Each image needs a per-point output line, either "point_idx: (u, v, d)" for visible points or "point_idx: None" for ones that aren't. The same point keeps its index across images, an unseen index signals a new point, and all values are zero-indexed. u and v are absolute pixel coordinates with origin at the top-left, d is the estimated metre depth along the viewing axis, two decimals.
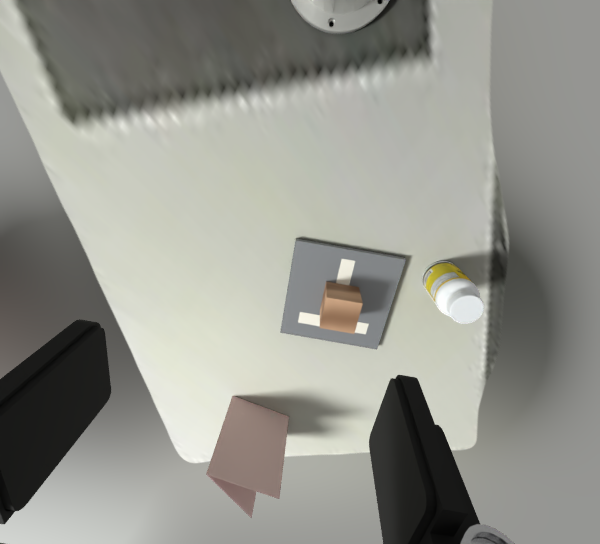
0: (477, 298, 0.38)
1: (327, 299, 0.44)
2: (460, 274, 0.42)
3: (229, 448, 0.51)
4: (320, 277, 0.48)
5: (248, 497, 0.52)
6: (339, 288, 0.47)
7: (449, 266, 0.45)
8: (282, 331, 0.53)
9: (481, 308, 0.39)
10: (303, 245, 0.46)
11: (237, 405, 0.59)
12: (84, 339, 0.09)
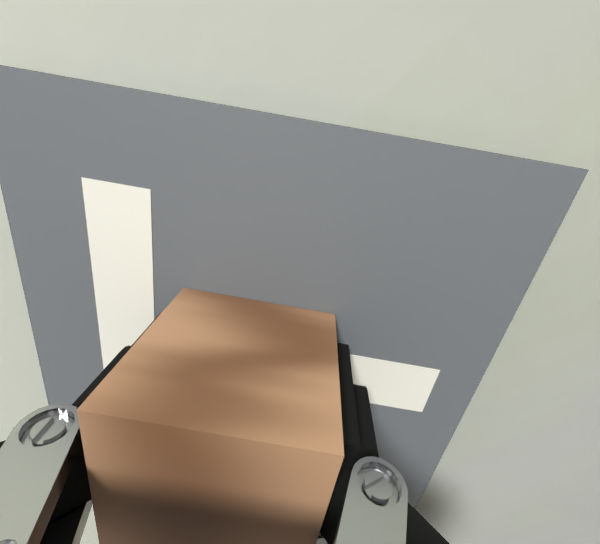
0: None
1: (326, 460, 0.06)
2: None
3: None
4: (355, 290, 0.10)
5: None
6: None
7: None
8: None
9: None
10: (545, 212, 0.09)
11: None
12: None
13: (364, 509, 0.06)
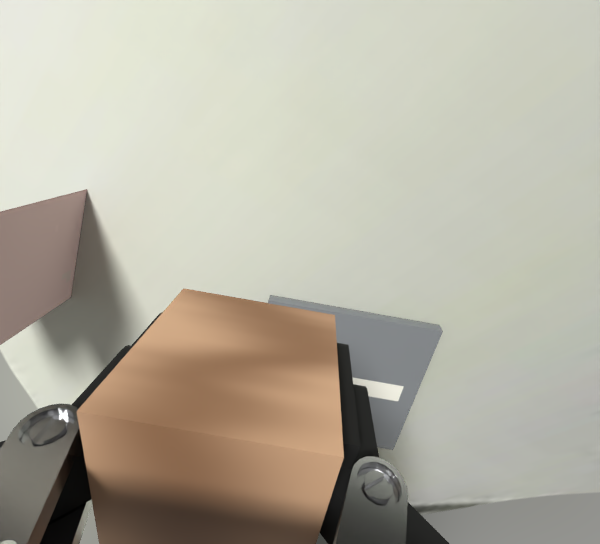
0: None
1: (325, 461, 0.06)
2: None
3: None
4: (375, 361, 0.31)
5: None
6: None
7: None
8: (271, 303, 0.29)
9: None
10: (432, 341, 0.30)
11: (70, 209, 0.26)
12: None
13: (364, 509, 0.06)
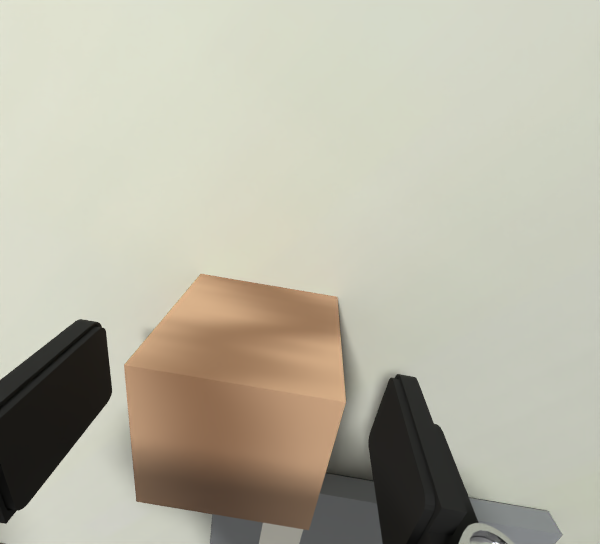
0: None
1: (330, 406, 0.07)
2: None
3: None
4: None
5: None
6: None
7: None
8: None
9: None
10: None
11: None
12: (85, 339, 0.09)
13: None
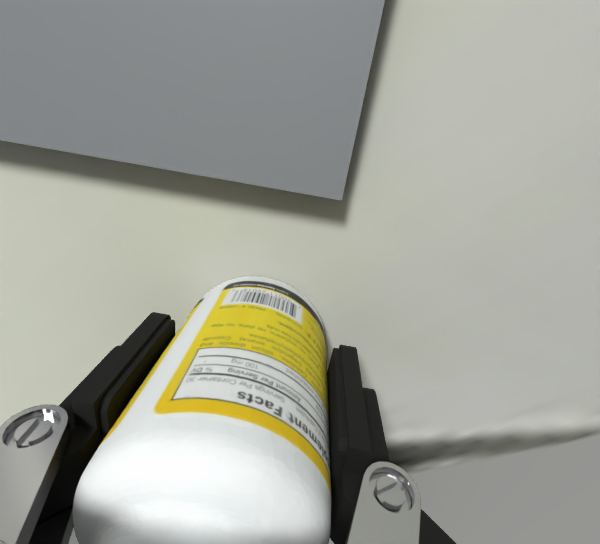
0: None
1: None
2: None
3: None
4: None
5: None
6: None
7: None
8: None
9: None
10: None
11: None
12: (162, 330, 0.10)
13: (376, 514, 0.06)
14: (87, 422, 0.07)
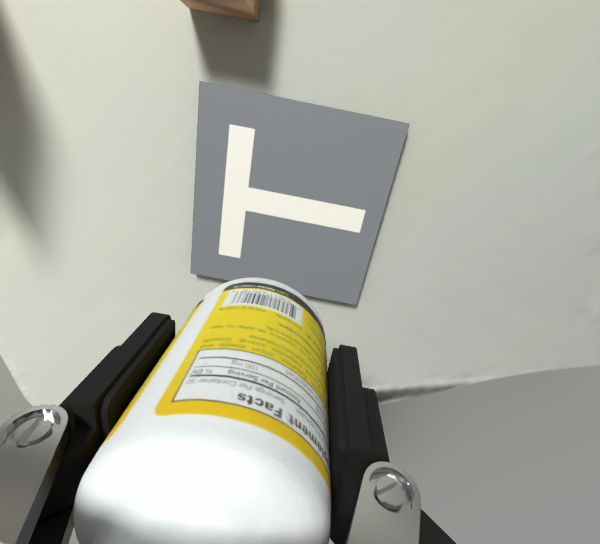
0: None
1: None
2: None
3: None
4: (330, 172, 0.26)
5: None
6: None
7: None
8: (203, 86, 0.24)
9: None
10: (397, 139, 0.25)
11: None
12: (162, 329, 0.10)
13: (376, 514, 0.06)
14: (87, 422, 0.07)
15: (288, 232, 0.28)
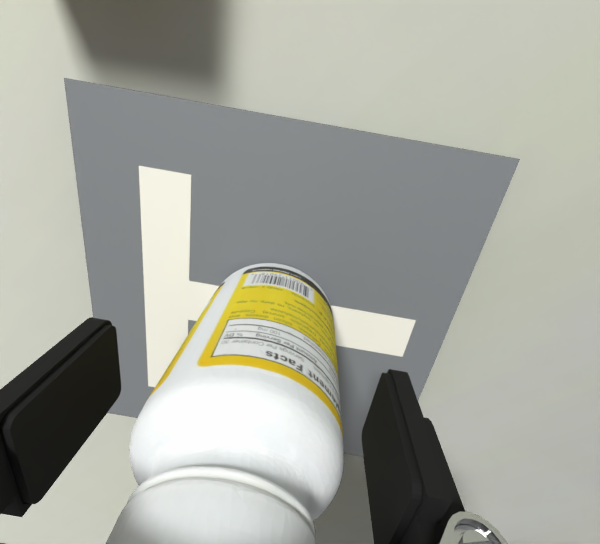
0: None
1: None
2: None
3: None
4: (347, 254, 0.13)
5: None
6: None
7: None
8: (73, 89, 0.11)
9: None
10: (489, 191, 0.12)
11: None
12: (97, 336, 0.09)
13: None
14: None
15: None
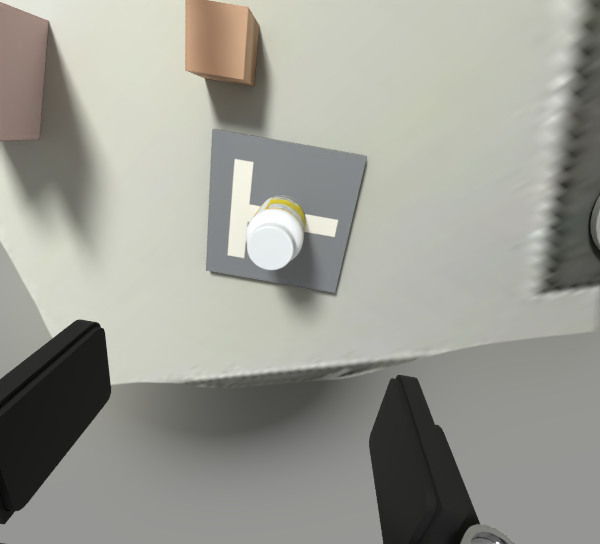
0: (289, 259, 0.28)
1: (244, 9, 0.26)
2: None
3: None
4: (310, 192, 0.35)
5: None
6: (254, 46, 0.29)
7: None
8: (214, 132, 0.33)
9: (273, 266, 0.28)
10: (358, 167, 0.34)
11: (33, 32, 0.30)
12: (84, 339, 0.09)
13: None
14: None
15: None
